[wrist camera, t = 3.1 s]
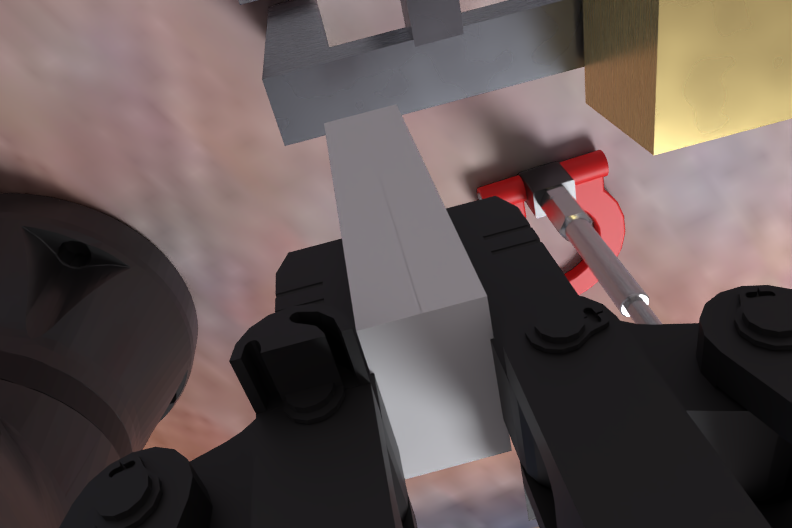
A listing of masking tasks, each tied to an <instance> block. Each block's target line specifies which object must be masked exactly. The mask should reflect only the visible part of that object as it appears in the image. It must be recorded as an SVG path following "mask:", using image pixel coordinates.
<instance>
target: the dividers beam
mask: <svg viewBox="0 0 792 528" xmlns="http://www.w3.org/2000/svg"><path fill="white" fill-rule="evenodd" d="M400 1H401V6H402V11H403V16H404V21H405V26H406V27H405V28H402V29H398V30H394V31H390V32H386V33H383V34H379V35H375V36H371V37H367V38H364V39H360V40H356V41H352V42H348V43H345V44H341V45H337V46H333V47H329V45H328V41H327V38H326V34H325V30H324V26H323V23H322V19H321V15H320V11H319V8H318V4H317V0H293V1H289V2H285V3H281V4H277V5H274V6H270V7H269V8H268V19H267V31H266V42H265V54H264V65H263V76H262V80H263V83H264V86H265V89H266V92H267V95H268V98H269V101H270V104H271V107H272V110H273V113H274V116H275V118H276V121H277V124H278V127H279V130H280V133H281V136H282V139H283V142H284V145H285V146H286V145H290V144H294V143H298V142H302V141H305V140H309V139H313V138H317V137H320V136H324V135H326V133H325V127H324V123H327V122H331V121H334V120H338V119H342V118H346V117H350V116H353V115H357V114H361V113H365V112H369V111H372V110H376V109H380V108H384V107H388V106H391V105H395V104H396V105H397V107H398V109H399V111H400V113H401V115H403V114H407V113H411V112H415V111H418V110H422V109H426V108H430V107H434V106H437V105H441V104H445V103H449V102H452V101H456V100H460V99H464V98H467V97H471V96H475V95H479V94H483V93H486V92H490V91H494V90H498V89H501V88H505V87H509V86H513V85H517V84H520V83H524V82H528V81H532V80H535V79H539V78H543V77H547V76H550V75H554V74H558V73H562V72H566V71H569V70H573V69H577V68H581V67H584V66H585V63H584V32H583V1H582V0H508V1H504V2H500V3H497V4H493V5H489V6H485V7H481V8H478V9H474V10H470V11H466V12H462V13H461V11H460V4H459V0H400Z"/></svg>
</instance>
